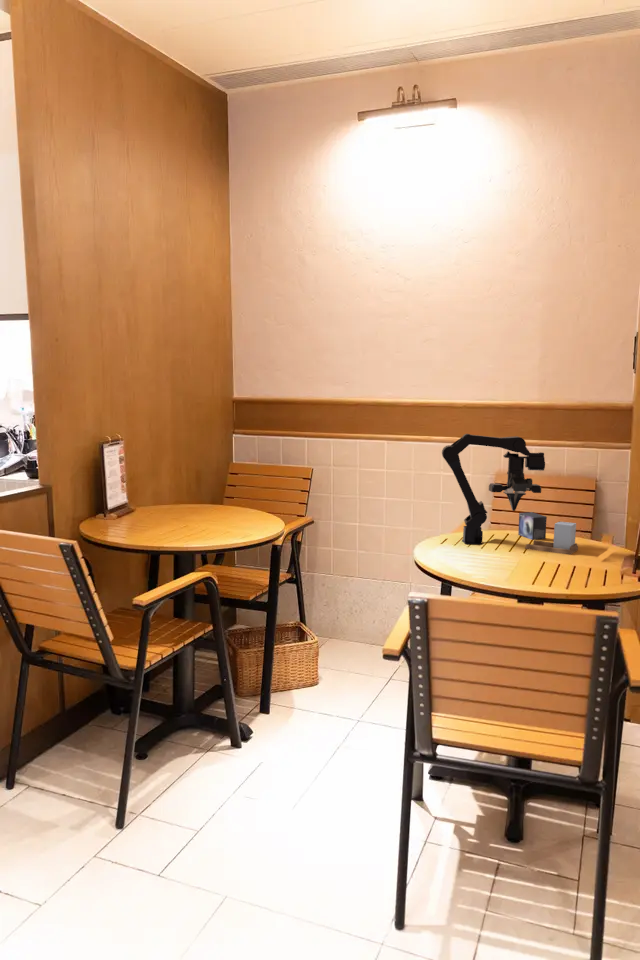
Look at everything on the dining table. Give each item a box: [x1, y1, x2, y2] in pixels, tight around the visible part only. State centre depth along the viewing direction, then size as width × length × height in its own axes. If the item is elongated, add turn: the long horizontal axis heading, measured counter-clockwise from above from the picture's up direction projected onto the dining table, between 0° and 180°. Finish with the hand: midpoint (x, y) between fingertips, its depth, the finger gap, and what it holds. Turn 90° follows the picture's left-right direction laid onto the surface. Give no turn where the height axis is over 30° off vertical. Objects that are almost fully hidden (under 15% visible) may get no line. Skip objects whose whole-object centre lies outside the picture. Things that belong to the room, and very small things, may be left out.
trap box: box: [524, 540, 579, 556], centre depth 281 cm, size 16×10×4 cm, turn 57°
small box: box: [518, 511, 548, 541], centre depth 304 cm, size 11×6×10 cm, turn 17°
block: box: [553, 521, 577, 550], centre depth 278 cm, size 6×6×10 cm
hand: (513, 510), depth 294 cm, fingers closed
